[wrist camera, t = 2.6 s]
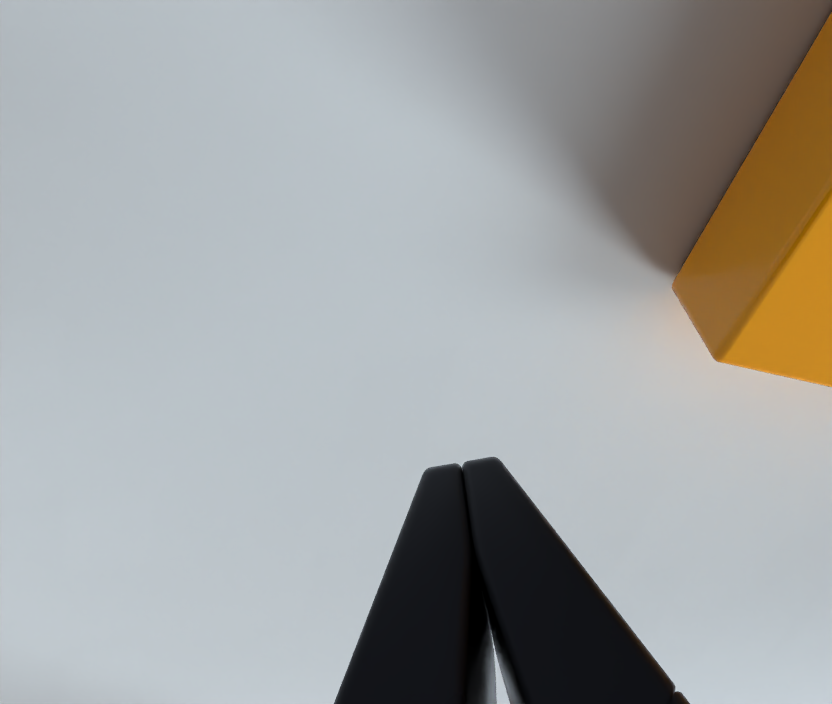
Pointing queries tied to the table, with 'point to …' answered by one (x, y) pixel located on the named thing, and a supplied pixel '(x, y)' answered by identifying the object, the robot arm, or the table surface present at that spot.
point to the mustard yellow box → (773, 241)
